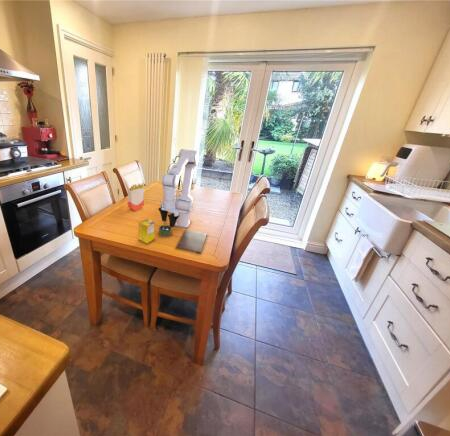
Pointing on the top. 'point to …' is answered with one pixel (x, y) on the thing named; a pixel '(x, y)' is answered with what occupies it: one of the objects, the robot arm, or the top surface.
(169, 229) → the green bowl
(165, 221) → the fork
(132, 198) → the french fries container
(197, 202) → the top surface
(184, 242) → the board
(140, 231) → the supplement box
